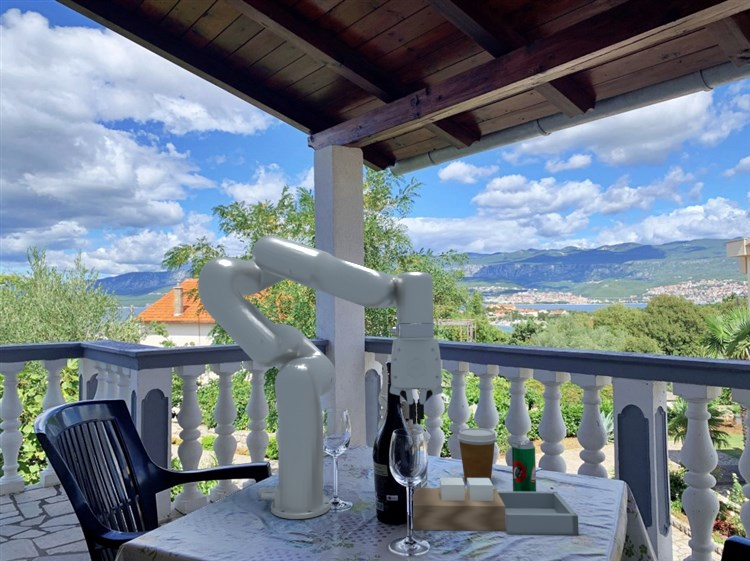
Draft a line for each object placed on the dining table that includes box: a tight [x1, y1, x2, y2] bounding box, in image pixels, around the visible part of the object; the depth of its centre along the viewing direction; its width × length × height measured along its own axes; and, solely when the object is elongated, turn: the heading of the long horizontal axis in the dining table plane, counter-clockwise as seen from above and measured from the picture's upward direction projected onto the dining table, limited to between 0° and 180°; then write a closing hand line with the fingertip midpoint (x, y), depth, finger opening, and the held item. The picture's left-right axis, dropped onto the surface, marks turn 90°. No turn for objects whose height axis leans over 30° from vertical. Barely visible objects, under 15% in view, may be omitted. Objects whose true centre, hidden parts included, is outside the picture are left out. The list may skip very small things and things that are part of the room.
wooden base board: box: [413, 487, 506, 532], centre depth 103 cm, size 18×10×4 cm, turn 87°
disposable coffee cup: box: [457, 427, 497, 483], centre depth 127 cm, size 10×10×12 cm
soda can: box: [511, 439, 537, 492], centre depth 116 cm, size 5×5×12 cm
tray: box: [497, 490, 580, 536], centre depth 102 cm, size 13×13×4 cm
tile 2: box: [466, 478, 494, 501], centre depth 103 cm, size 4×4×3 cm
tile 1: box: [439, 477, 466, 501], centre depth 103 cm, size 4×4×3 cm
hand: (416, 423), depth 104 cm, fingers closed
